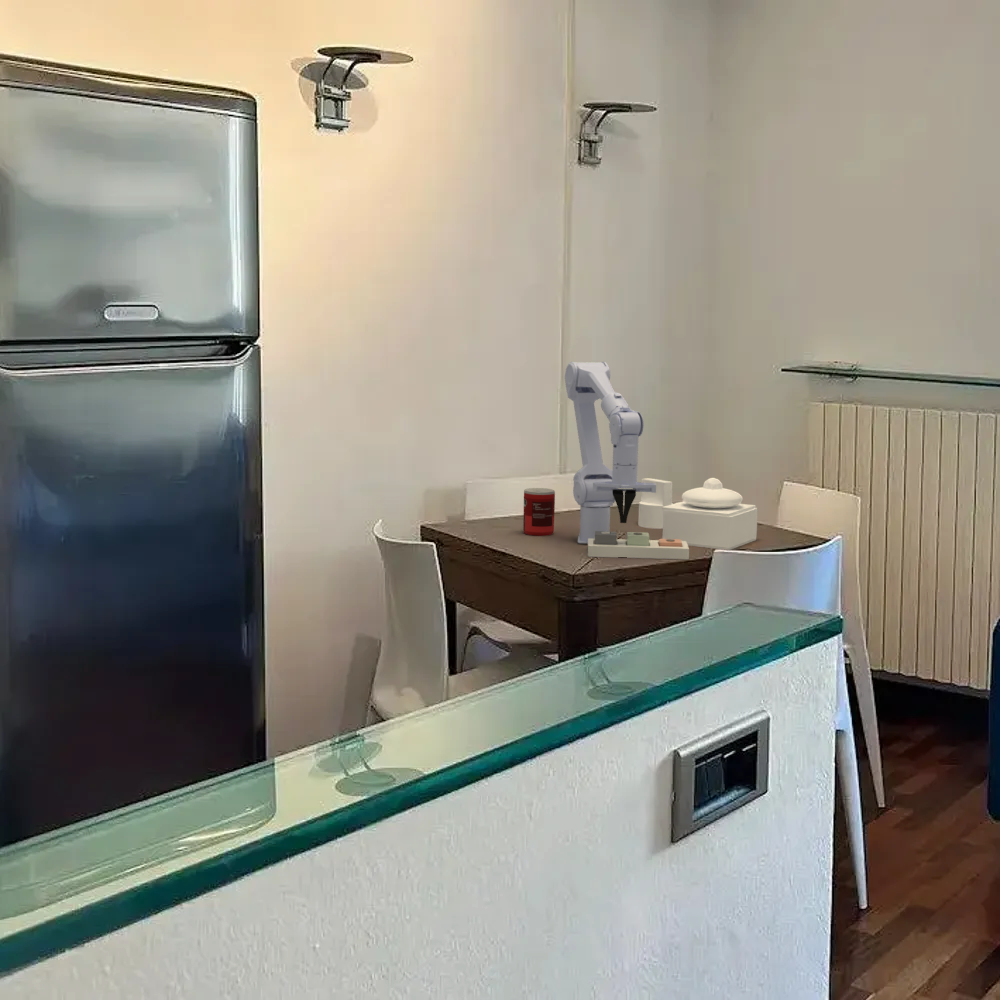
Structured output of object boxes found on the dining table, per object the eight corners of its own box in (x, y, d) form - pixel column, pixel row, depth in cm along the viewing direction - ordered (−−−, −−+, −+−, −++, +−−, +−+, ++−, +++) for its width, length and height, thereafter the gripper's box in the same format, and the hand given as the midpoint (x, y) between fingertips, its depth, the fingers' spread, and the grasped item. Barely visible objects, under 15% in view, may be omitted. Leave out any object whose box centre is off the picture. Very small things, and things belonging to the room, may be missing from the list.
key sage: (626, 545, 320) (627, 531, 320) (648, 546, 320) (648, 531, 319) (627, 549, 315) (627, 534, 315) (648, 549, 315) (649, 535, 314)
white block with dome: (729, 551, 325) (731, 484, 322) (660, 542, 334) (662, 478, 332) (756, 540, 340) (759, 477, 337) (689, 533, 349) (692, 471, 347)
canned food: (535, 529, 349) (536, 487, 348) (560, 533, 344) (561, 490, 343) (516, 533, 344) (517, 489, 342) (541, 537, 338) (542, 493, 337)
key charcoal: (594, 544, 321) (594, 530, 320) (615, 545, 320) (616, 530, 320) (594, 548, 316) (594, 533, 315) (616, 549, 315) (616, 534, 315)
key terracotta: (658, 552, 320) (659, 537, 319) (680, 552, 319) (680, 538, 319) (659, 556, 315) (660, 541, 314) (681, 556, 314) (681, 542, 314)
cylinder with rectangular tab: (631, 524, 360) (632, 479, 358) (656, 521, 365) (657, 477, 363) (654, 529, 352) (656, 483, 351) (679, 526, 358) (681, 481, 356)
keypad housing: (587, 548, 323) (588, 538, 323) (685, 551, 322) (686, 541, 321) (587, 556, 313) (588, 545, 313) (688, 559, 312) (689, 548, 312)
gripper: (593, 465, 311) (592, 524, 313) (657, 467, 311) (655, 526, 313) (593, 461, 318) (591, 519, 320) (655, 463, 318) (653, 521, 320)
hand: (623, 522), depth 317 cm, fingers closed
